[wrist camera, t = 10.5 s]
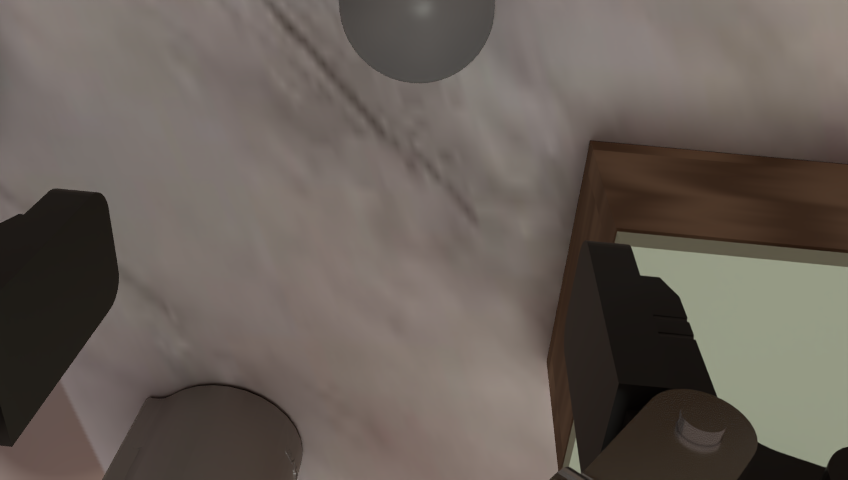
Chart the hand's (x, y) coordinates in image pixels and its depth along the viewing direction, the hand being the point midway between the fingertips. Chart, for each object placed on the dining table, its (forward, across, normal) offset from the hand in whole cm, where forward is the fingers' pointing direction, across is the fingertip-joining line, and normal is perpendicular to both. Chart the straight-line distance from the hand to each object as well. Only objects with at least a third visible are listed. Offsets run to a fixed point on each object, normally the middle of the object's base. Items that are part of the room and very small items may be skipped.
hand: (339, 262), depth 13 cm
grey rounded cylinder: (+22, 0, 0) cm, 22 cm away
